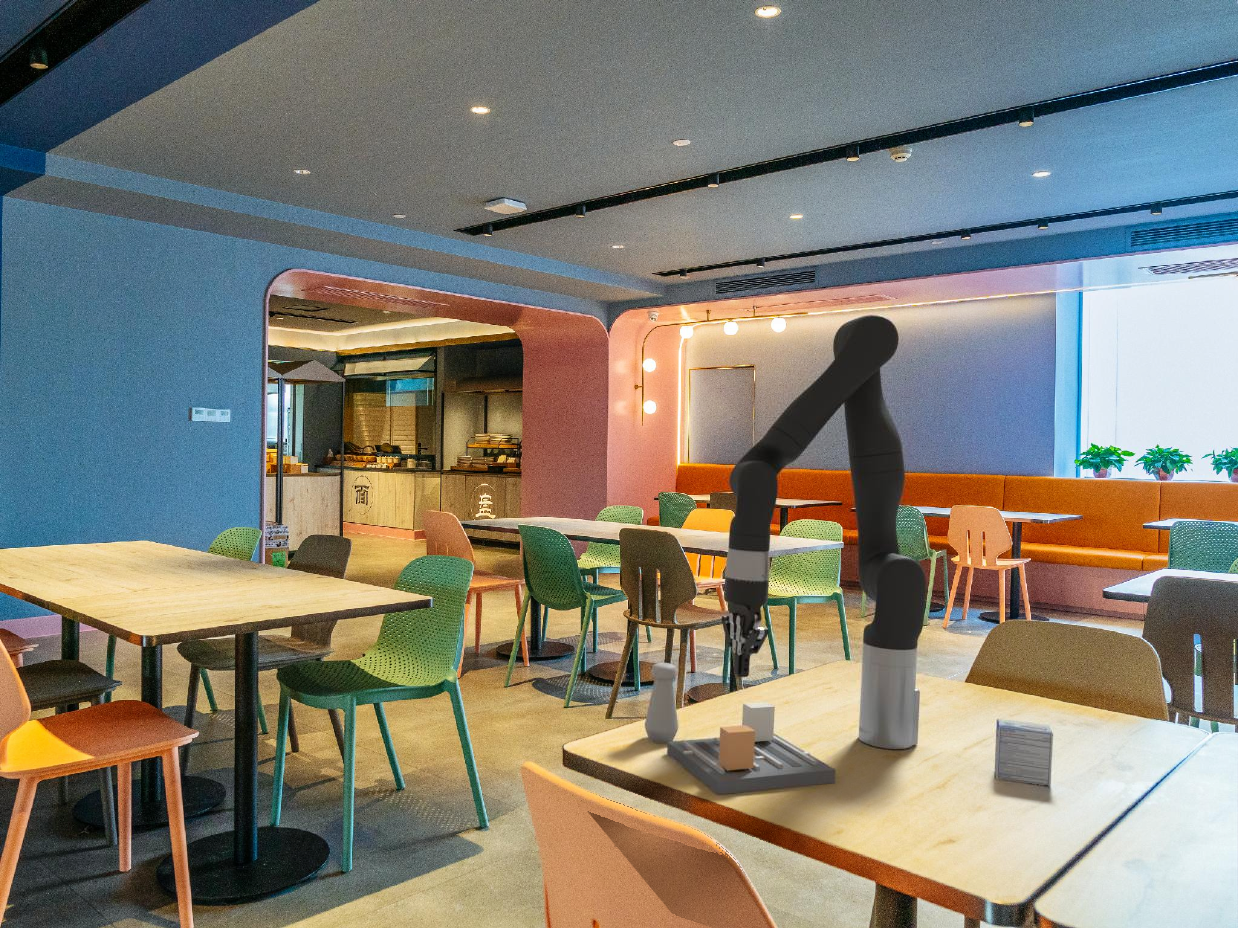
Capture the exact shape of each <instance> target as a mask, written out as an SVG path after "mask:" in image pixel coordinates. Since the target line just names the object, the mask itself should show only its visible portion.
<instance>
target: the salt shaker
mask: <svg viewBox="0 0 1238 928" xmlns="http://www.w3.org/2000/svg"><path fill="white" fill-rule="evenodd" d="M677 672H678V671H677V667H676V666H675V665H674V664H672V663H670V662H657V663H655V664H654V665H653V666H651V677H652V678H654V679H653V680H654V681H653V685H652V688H651V694H650V697H649V698H650V700H649V704H648V708H647V712H646V716H645V722H644V729H645V732H646V734H647V737H648V740H649V741H650V742H653V743H654V744H655V743H656V744H668V742H670V741H674V739H675V737H676V734H677V733H678V730H679V726H680V725H679V718H678V713H677V705H676V698H675V691H674V684H673V683H674V682H673V680H675V679H676V677H677Z"/></svg>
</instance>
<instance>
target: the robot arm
mask: <svg viewBox="0 0 1238 928" xmlns="http://www.w3.org/2000/svg"><path fill="white" fill-rule="evenodd" d="M899 339H900V337H899V332H898V329H897V327H896V325H895V323H893V321H892V320H890V319H889V318H887V317H886V316H884V315H880V314H867V315H862V316H859V317H857V318H854V319H851V320H849V321H847V322H845V323H844V324H842V325H841V326H840V327H839V328H838V329H837V331H836V332H835V335H834V338H833V344H832V349H833V357H834V359H833V361H832V362H831V363H830V364H829V366H828V367H827V368H826V369H825V370H824V371H823V373H822V374H821V375H820V376H819V377H818V378H817V379H816V380H815V381H813V383H811V384H810V385H809V386H808V387H807V388H806V389H805V390H803V392H802V393H800V394H799V395H798V396H797V397H796V398H794V400H793V401H792V402H791V403H790V404H789V405H788V406H787V407H786V408H785V409H784V411H783V412H782V413H780V415H779V417H778V418H776V420H775V421H774V423H773V424H772V425H771V426H770V428H768V430H767V432H766V433H765V435H764V436H763V437H762V438H761V439H760V440H759V441H758V442H757V443H755V445H754V446H752V447H751V448H750V449H749V450H748V451H747V452H746V453H745V454H744V455H743V456H742V457H741V458H740V459H739V461H737V463H736V464H735V465H734V467H733V468H732V470H731V472H730V474H729V479H728V480H729V481H728V482H729V483H728V484H729V488H730V491H731V492H732V493H733V494H734V495H735V496H736V506H735V514H734V516H733V517H732V518H731V521H730V524H729V535H728V536H729V537H728V548H727V550H728V551H727V556H726V559H725V560H726V561H725V572H724V573H725V575H724V576H725V577H724V591H723V593H724V594H723V600H724V601H725V602H726V603H728V604H729V607H728V613H727V615H722V616H721V624H722V628H723V631H724V636H725V639H726V642H727V646H728V648H732V653H733V654H734V658H733V659H734V661H733V662H734V663H733V675H734V676H737V677H739V678H748V677H749V675H750V665H751V664H750V663H751V662H750V661H751V656H752V655H755V654H758V653H759V652H760V650H761V648H762V647H763V644H764V643H765V641H766V639H767V637H768V635H769V634H770V633H769V630H770V629H769V628H768V627H763V625H762V623H761V621H762V613H761V612H762V610H761V608H762V607H763V606H766V605H767V604H768V602H769V601H768V600H769V585H770V572H771V571H770V570H771V560H770V544H771V524H772V520H773V517H774V513H775V509H776V508H775V507H776V504H777V498H778V493H779V492H778V490H779V482H778V480H779V479H778V475H779V474H780V473H781V472H782V470H783V469H784V468H785V467H786V466H788V465H790V464H792V463H794V462H795V461H796V460H797V459H798V458H799V457H800V456H801V455H802V454H803V453H804V451H805V450H806V449H808V446H809V445H810V444H811V443H812V442H813V441H814V439H815V438H816V437H817V436H818V434H819V433H820V431H821V430H823V428H824V427H825V425H826V424H828V422H829V421H830V420H831V418H832V417H833V416H834V415H835V414H836V413H837V411H838V410H839V409H840V408H841V407H842V405H843V407H844V408H843V409H844V419H845V427H846V428H845V429H846V436H847V437H846V439H847V447H848V449H847V451H848V452H847V453H848V459H849V469H850V476H851V484H852V488H853V499H854V509H855V515H856V516H855V517H856V522H857V525H856V526H857V543H858V545H857V552H858V553H857V555H858V557H857V559H858V560H857V562H858V565H857V567H858V581H859V585H860V587H861V590H862V592H863V593H864V594H865V595H866V596H867V597H868V598H869V599H870V600H872V601H874V602H875V605H874V607H875V608H874V617H873V619H872V622H870V623H868V624H867V625H865V626H864V628H863V634H862V635H863V636H862V654H861V655H862V656H861V657H862V658H861V659H862V660H861V678H860V679H861V681H860V698H859V699H860V700H859V702H860V703H859V718H858V719H859V720H858V724H859V725H858V739H859V740H860V741H861V742H863V743H865V744H866V745H869V746H872V747H877V748H881V749H887V750H888V749H889V750H905V749H909V748H911V747H912V746H915V745H918V740H919V739H918V738H919V723H920V721H919V720H920V702H921V701H920V700H921V699H920V698H921V697H920V696H921V691H920V690H919V689H917V688H916V685H917V665H918V664H917V663H918V662H917V661H918V645H919V644H918V641H919V637H920V635H921V633H922V632H923V627H924V623H925V622H924V620H925V610H926V599H927V577H926V573H925V570H924V568H923V567H922V565H921V564H920V563H919V561H917V560H915V559H914V558H912V557H909V556H906V555H902V554H901V552H900V547H899V540H898V533H897V532H898V531H897V518H898V517H897V516H898V513H899V507H900V504H901V501H902V497H903V492H904V488H905V483H906V482H905V481H906V466H905V459H904V451H903V445H902V439H901V436H900V433H899V430H898V429H897V426H896V423H895V422H894V419H893V416H892V415H891V413H890V410H889V408H888V406H887V403H886V401H885V398H884V393H883V387H882V376H881V368H882V367H883V366H884V365H885V364H886V363H888V362H889V361H890V360H891V359H892V358H893V357H894V356H895V354H896V352H897V349H898V347H899V342H900V341H899Z"/></svg>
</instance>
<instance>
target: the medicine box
mask: <svg viewBox="0 0 1238 928" xmlns="http://www.w3.org/2000/svg"><path fill="white" fill-rule="evenodd" d="M995 725H996V729H995V749H994V750H995V753H994V754H995V755H994V772H995V779H996V780H1002V781H1003V780H1004V781H1010V782H1017V783H1024V784H1030V783H1032V785H1037V784H1039V786H1044V785H1049V786H1048V787H1051V786H1052V785H1051V784H1052V765H1053V745H1054V744H1053V743H1054V742H1053V741H1054V732H1053V730H1052V729H1051V727H1050V725H1048V724H1043V723H1035V722H1031V721H1030V722H1028V721H1021V720H1020V721H1019V720H1013V719H1012V720H1011V719H1004V718H1003V719H1002V718H997V719H996V724H995Z"/></svg>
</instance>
